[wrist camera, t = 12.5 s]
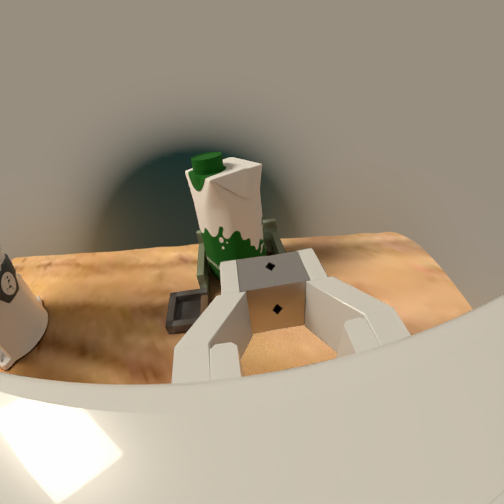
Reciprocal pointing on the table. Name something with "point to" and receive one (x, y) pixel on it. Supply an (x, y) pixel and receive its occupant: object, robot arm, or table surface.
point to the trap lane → (207, 285)
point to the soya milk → (227, 207)
